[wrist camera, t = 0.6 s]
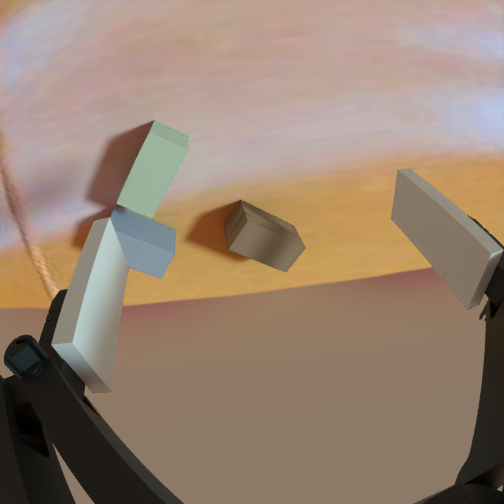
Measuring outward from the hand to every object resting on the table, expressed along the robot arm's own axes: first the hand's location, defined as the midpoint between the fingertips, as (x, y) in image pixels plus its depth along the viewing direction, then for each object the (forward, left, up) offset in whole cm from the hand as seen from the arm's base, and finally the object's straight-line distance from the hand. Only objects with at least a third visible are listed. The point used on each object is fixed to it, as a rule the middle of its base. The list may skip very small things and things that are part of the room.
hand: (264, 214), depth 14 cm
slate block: (-2, -17, -22) cm, 28 cm away
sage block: (-4, -8, -22) cm, 23 cm away
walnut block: (+11, -10, -22) cm, 26 cm away
